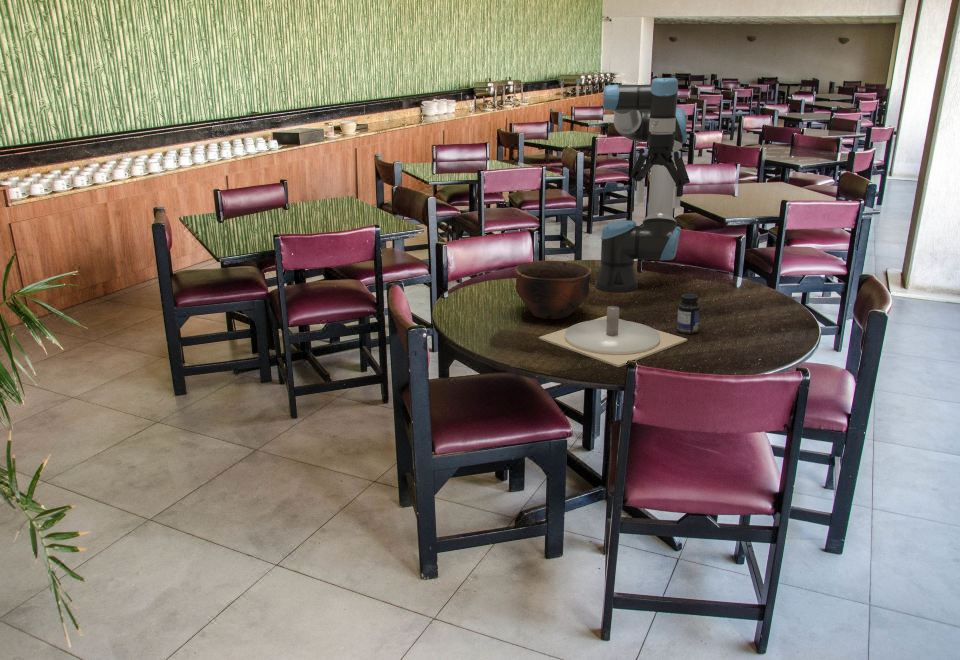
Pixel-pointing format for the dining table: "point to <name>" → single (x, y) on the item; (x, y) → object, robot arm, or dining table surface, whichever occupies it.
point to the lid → (612, 335)
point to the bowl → (552, 287)
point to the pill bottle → (688, 314)
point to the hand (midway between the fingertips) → (657, 204)
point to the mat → (616, 360)
